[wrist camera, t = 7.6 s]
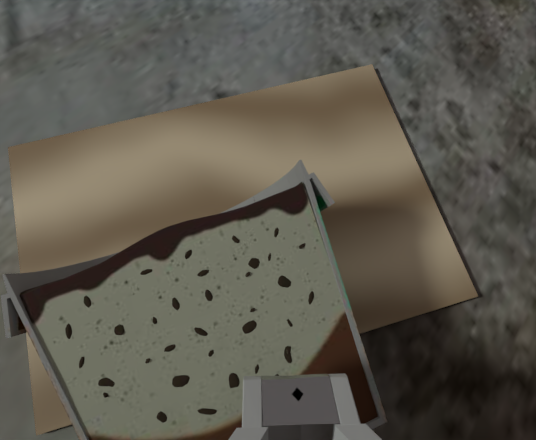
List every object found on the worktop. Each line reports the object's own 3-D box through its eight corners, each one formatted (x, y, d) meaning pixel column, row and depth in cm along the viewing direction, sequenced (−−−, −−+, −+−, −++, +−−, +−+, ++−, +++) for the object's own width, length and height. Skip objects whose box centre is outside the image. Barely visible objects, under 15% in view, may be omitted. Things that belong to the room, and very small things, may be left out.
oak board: (474, 297, 20) (478, 296, 20) (40, 433, 18) (36, 435, 17) (370, 68, 25) (372, 64, 25) (12, 150, 22) (8, 147, 22)
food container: (364, 365, 20) (288, 189, 21) (423, 402, 14) (313, 154, 15) (133, 478, 18) (61, 279, 19) (88, 577, 12) (-15, 280, 13)
